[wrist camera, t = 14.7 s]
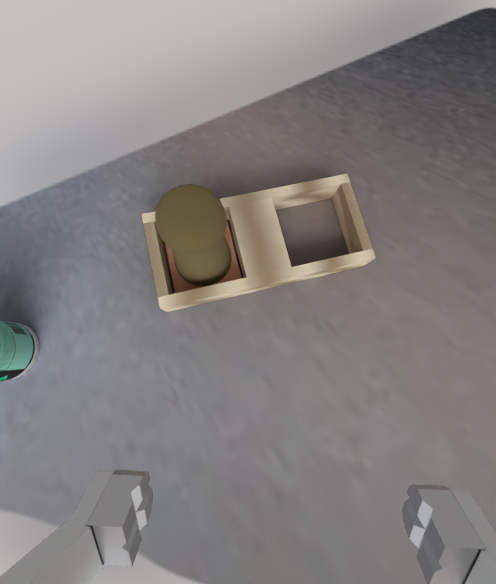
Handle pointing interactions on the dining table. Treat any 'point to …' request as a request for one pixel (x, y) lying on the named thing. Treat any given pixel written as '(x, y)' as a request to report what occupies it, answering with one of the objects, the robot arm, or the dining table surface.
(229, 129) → the dining table surface
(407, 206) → the dining table surface
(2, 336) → the spray can
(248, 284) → the socket rail
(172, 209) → the olive round-headed peg
